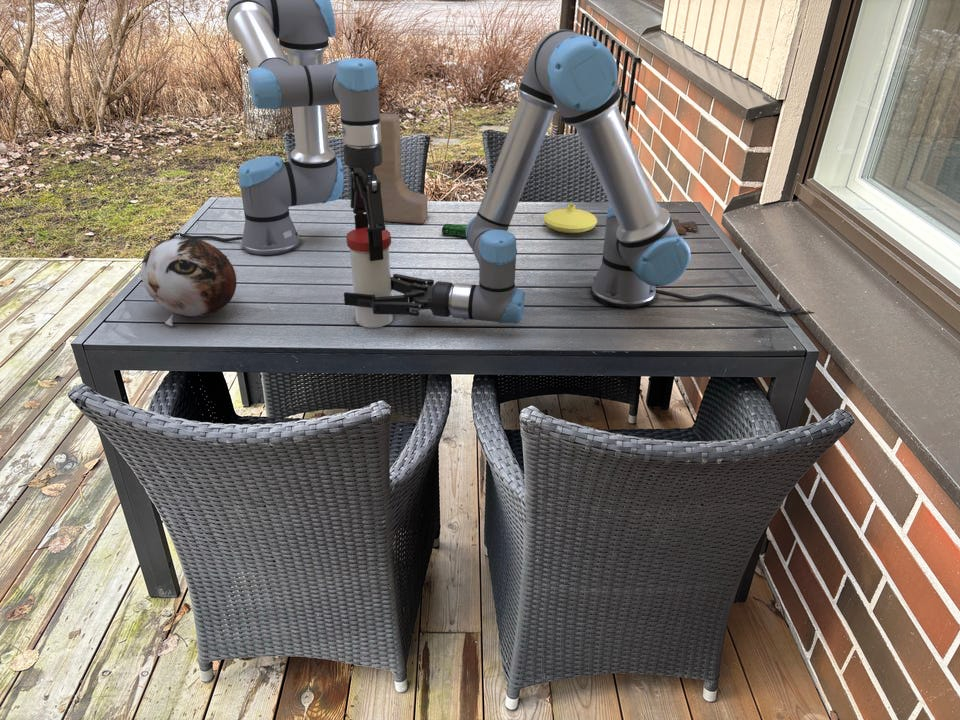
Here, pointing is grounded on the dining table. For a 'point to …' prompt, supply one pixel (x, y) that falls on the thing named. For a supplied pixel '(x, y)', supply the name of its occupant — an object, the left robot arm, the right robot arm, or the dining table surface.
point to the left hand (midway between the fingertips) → (369, 251)
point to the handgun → (454, 230)
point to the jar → (371, 285)
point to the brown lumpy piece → (684, 226)
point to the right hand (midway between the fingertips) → (352, 289)
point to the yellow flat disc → (570, 220)
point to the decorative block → (396, 178)
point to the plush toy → (188, 277)
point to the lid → (365, 239)
